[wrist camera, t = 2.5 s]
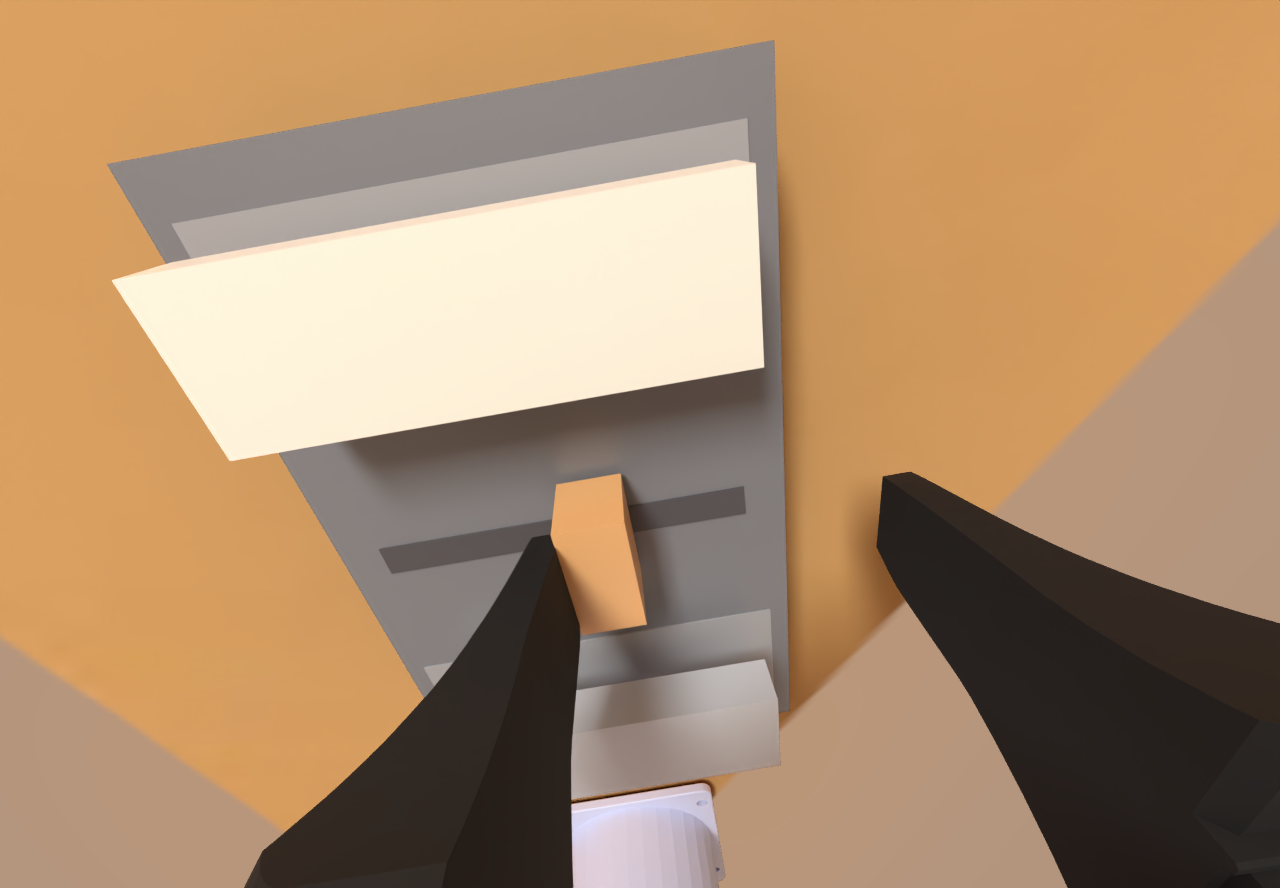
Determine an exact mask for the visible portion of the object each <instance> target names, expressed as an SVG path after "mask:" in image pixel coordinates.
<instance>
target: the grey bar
mask: <svg viewBox="0 0 1280 888" xmlns="http://www.w3.org/2000/svg"><path fill="white" fill-rule="evenodd" d="M779 765H781V762H780V737H779V713H778V699H777V695H776V692H775V689H774V686H773V683H772V680H771V677H770V674H769V671H768V668H767V664H766V661H765V659H762V660H756V661H750V662H744V663H738V664H732V665H726V666H720V667H714V668H708V669H702V670H696V671H690V672H684V673H678V674H672V675H666V676H660V677H654V678H648V679H642V680H636V681H630V682H624V683H618V684H612V685H606V686H600V687H594V688H588V689H582V690H576V701H575V713H574V725H573V736H572V755H571V799H577V798H583V797H589V796H596V795H602V794H608V793H614V792H620V791H626V790H632V789H638V788H645V787H651V786H657V785H663V784H669V783H675V782H681V781H687V780H694V779H700V778H706V777H712V776H718V775H724V774H730V773H737V772H743V771H749V770H755V769H761V768H767V767H773V766H779Z"/></svg>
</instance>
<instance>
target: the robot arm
mask: <svg viewBox="0 0 1280 888" xmlns="http://www.w3.org/2000/svg"><path fill="white" fill-rule="evenodd" d="M877 549H878V551H879V553H880V555H881V557H882V559H883V561H884V563H885V565H886V567H887V569H888V571H889V573H890V575H891V577H892V579H893V581H894V583H895V584H896V586H897V588H898V589H899V591H900V593H901V594H902V596H903V597H904V599H905V600H906V602H907V603H908V604H909V606H910V607H911V609H912V610H913V612H914V613H915V615H916V616H917V618H918V619H919V621H920V622H921V624H922V625H923V627H924V628H925V629H926V631H927V632H928V634H929V635H930V637H931V638H932V640H933V641H934V642H935V644H936V645H937V647H938V648H939V650H940V651H941V653H942V654H943V656H944V657H945V658H946V660H947V661H948V663H949V664H950V666H951V667H952V669H953V670H954V672H955V673H956V674H957V676H958V678H959V679H960V681H961V682H962V684H963V685H964V687H965V689H966V690H967V692H968V693H969V695H970V696H971V698H972V700H973V702H974V704H975V705H976V707H977V709H978V711H979V713H980V715H981V716H982V718H983V720H984V722H985V724H986V725H987V727H988V729H989V731H990V733H991V735H992V736H993V738H994V740H995V742H996V744H997V745H998V748H999V749H1000V751H1001V753H1002V755H1003V757H1004V759H1005V761H1006V763H1007V765H1008V767H1009V769H1010V770H1011V772H1012V774H1013V776H1014V778H1015V780H1016V782H1017V784H1018V786H1019V788H1020V790H1021V792H1022V793H1023V795H1024V798H1025V799H1026V801H1027V804H1028V806H1029V808H1030V810H1031V812H1032V814H1033V816H1034V818H1035V820H1036V822H1037V824H1038V826H1039V828H1040V830H1041V832H1042V834H1043V836H1044V838H1045V840H1046V842H1047V844H1048V846H1049V849H1050V851H1051V853H1052V855H1053V857H1054V859H1055V861H1056V863H1057V865H1058V868H1059V870H1060V872H1061V874H1062V876H1063V878H1064V881H1065V883H1066V885H1067V887H1068V888H1280V623H1276V622H1273V621H1269V620H1266V619H1262V618H1258V617H1255V616H1251V615H1247V614H1244V613H1241V612H1237V611H1234V610H1231V609H1228V608H1224V607H1221V606H1218V605H1214V604H1211V603H1208V602H1204V601H1201V600H1199V599H1196V598H1193V597H1190V596H1187V595H1184V594H1180V593H1177V592H1175V591H1172V590H1169V589H1166V588H1162V587H1159V586H1157V585H1154V584H1151V583H1148V582H1145V581H1143V580H1140V579H1137V578H1134V577H1132V576H1129V575H1126V574H1124V573H1121V572H1118V571H1116V570H1114V569H1111V568H1109V567H1106V566H1104V565H1101V564H1099V563H1096V562H1094V561H1091V560H1088V559H1086V558H1084V557H1081V556H1079V555H1076V554H1074V553H1072V552H1069V551H1067V550H1065V549H1063V548H1061V547H1058V546H1056V545H1054V544H1052V543H1050V542H1048V541H1045V540H1043V539H1041V538H1039V537H1037V536H1035V535H1033V534H1030V533H1028V532H1026V531H1024V530H1022V529H1020V528H1018V527H1016V526H1014V525H1012V524H1010V523H1008V522H1006V521H1004V520H1002V519H1000V518H998V517H996V516H994V515H992V514H990V513H989V512H987V511H985V510H983V509H981V508H979V507H977V506H975V505H973V504H971V503H970V502H968V501H966V500H964V499H962V498H960V497H958V496H957V495H955V494H953V493H951V492H949V491H947V490H945V489H943V488H942V487H940V486H938V485H936V484H934V483H932V482H930V481H928V480H926V479H925V478H923V477H921V476H919V475H916V474H914V473H912V472H906V473H900V474H894V475H888V476H883V480H882V491H881V503H880V514H879V525H878V537H877ZM579 654H580V624H579V621H578V618H577V615H576V612H575V609H574V606H573V602H572V599H571V596H570V593H569V590H568V587H567V584H566V581H565V577H564V574H563V571H562V568H561V565H560V562H559V559H558V556H557V552H556V549H555V547H554V545H553V542H552V538H551V534H549V535H543V536H537V537H532V538H531V540H530V541H529V542H528V544H527V546H526V548H525V550H524V551H523V553H522V555H521V557H520V559H519V561H518V562H517V564H516V566H515V568H514V569H513V571H512V573H511V575H510V576H509V578H508V580H507V582H506V583H505V585H504V587H503V588H502V590H501V592H500V593H499V595H498V597H497V598H496V600H495V602H494V603H493V605H492V606H491V608H490V610H489V611H488V613H487V614H486V616H485V618H484V619H483V621H482V622H481V624H480V625H479V626H478V628H477V629H476V631H475V632H474V634H473V635H472V637H471V638H470V640H469V641H468V643H467V644H466V645H465V647H464V648H463V650H462V651H461V652H460V654H459V655H458V657H457V658H456V659H455V661H454V662H453V663H452V665H451V666H450V667H449V668H448V670H447V671H446V672H445V674H444V675H443V676H442V677H441V679H440V680H439V681H438V682H437V684H436V685H435V686H434V687H433V688H432V690H431V691H430V692H429V693H428V694H427V696H426V697H425V698H424V699H423V700H422V701H421V702H420V704H419V705H418V706H417V707H416V708H415V709H414V710H413V711H412V712H411V714H410V715H409V716H408V717H407V718H406V719H405V720H404V721H403V722H402V723H401V724H400V726H399V727H398V728H397V729H396V730H395V731H394V732H393V733H392V734H391V735H390V736H389V737H388V738H387V739H386V741H385V742H384V743H383V744H382V745H381V746H380V747H379V748H378V749H377V750H376V751H375V752H373V753H372V754H371V755H370V756H369V757H368V758H367V759H366V760H365V761H364V762H363V763H362V764H361V765H360V766H359V767H358V768H357V769H356V770H355V771H354V772H353V773H352V774H351V775H350V776H349V777H347V778H346V779H345V780H344V781H343V782H342V783H341V784H340V785H339V786H338V787H337V788H336V789H335V790H333V791H332V792H331V793H330V794H329V795H328V796H327V797H326V798H325V799H323V800H322V801H321V802H320V803H319V804H318V805H316V806H315V807H314V808H313V809H312V810H311V811H309V812H308V813H307V814H306V815H305V816H304V817H302V818H301V819H300V820H299V821H298V822H297V823H295V824H294V825H293V826H292V827H291V828H290V829H288V830H287V831H286V832H285V833H284V834H283V835H281V836H280V837H279V838H278V839H277V840H275V841H274V842H273V843H272V844H271V845H269V846H268V847H267V848H266V849H264V850H263V851H262V853H261V855H260V857H259V859H258V861H257V863H256V865H255V867H254V869H253V871H252V873H251V875H250V877H249V879H248V881H247V883H246V885H245V887H244V888H719V886H718V881H721V880H723V879H724V878H725V870H724V865H723V859H722V853H721V847H720V842H719V836H718V830H717V824H716V818H715V812H714V806H713V800H712V794H711V789H710V786H709V785H707V784H705V783H697V784H691V785H684V786H678V787H672V788H666V789H660V790H654V791H648V792H642V793H635V794H629V795H623V796H617V797H611V798H605V799H599V800H592V801H586V802H580V803H574V804H571V755H572V736H573V725H574V713H575V701H576V690H577V678H578V666H579Z"/></svg>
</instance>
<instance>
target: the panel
mask: <svg viewBox="0 0 1280 888" xmlns="http://www.w3.org/2000/svg"><path fill="white" fill-rule="evenodd" d="M730 160H741V161H746V162H752V163H756V182H757V206H758V230H759V254H760V279H761V303H762V327H763V351H764V367H763V368H758V369H752V370H746V371H740V372H735V373H729V374H723V375H718V376H712V377H706V378H701V379H695V380H689V381H683V382H678V383H672V384H666V385H661V386H655V387H649V388H644V389H638V390H632V391H627V392H621V393H615V394H609V395H604V396H598V397H592V398H587V399H581V400H575V401H570V402H564V403H558V404H553V405H547V406H541V407H535V408H530V409H524V410H518V411H513V412H507V413H501V414H496V415H490V416H484V417H478V418H473V419H467V420H461V421H456V422H450V423H444V424H439V425H433V426H427V427H422V428H416V429H410V430H404V431H399V432H393V433H387V434H382V435H376V436H370V437H365V438H359V439H353V440H348V441H342V442H336V443H330V444H325V445H319V446H313V447H308V448H302V449H296V450H291V451H285V452H279V455H280V456H281V458H282V460H283V461H284V463H285V465H286V466H287V468H288V470H289V472H290V473H291V475H292V477H293V478H294V480H295V482H296V483H297V485H298V487H299V488H300V490H301V492H302V493H303V495H304V497H305V498H306V500H307V502H308V503H309V505H310V507H311V509H312V510H313V512H314V514H315V515H316V517H317V519H318V520H319V522H320V524H321V525H322V527H323V529H324V530H325V532H326V534H327V535H328V537H329V539H330V541H331V542H332V544H333V546H334V547H335V549H336V551H337V552H338V554H339V556H340V557H341V559H342V561H343V562H344V564H345V566H346V567H347V569H348V571H349V572H350V574H351V576H352V578H353V579H354V581H355V583H356V584H357V586H358V588H359V589H360V591H361V593H362V594H363V596H364V598H365V599H366V601H367V603H368V604H369V606H370V608H371V609H372V611H373V613H374V615H375V616H376V618H377V620H378V621H379V623H380V625H381V626H382V628H383V630H384V631H385V633H386V635H387V636H388V638H389V640H390V641H391V643H392V645H393V647H394V648H395V650H396V652H397V653H398V655H399V657H400V658H401V660H402V662H403V663H404V665H405V667H406V668H407V670H408V672H409V673H410V675H411V677H412V678H413V680H414V682H415V684H416V685H417V687H418V689H419V690H420V692H421V694H422V695H423V697H424V698H425V697H426V696H427V694H428V693H429V692H430V691H431V690H432V688H433V687H434V686H435V685H436V684H437V682H438V681H439V680H440V679H441V677H442V676H443V675H444V674H445V672H446V671H447V670H448V668H449V667H450V666H451V665H452V663H453V662H454V661H455V659H456V658H457V657H458V655H459V654H460V652H461V651H462V650H463V648H464V647H465V645H466V644H467V643H468V641H469V640H470V638H471V637H472V635H473V634H474V632H475V631H476V629H477V628H478V626H479V625H480V624H481V622H482V621H483V619H484V618H485V616H486V614H487V613H488V611H489V610H490V608H491V606H492V605H493V603H494V602H495V600H496V598H497V597H498V595H499V593H500V592H501V590H502V588H503V587H504V585H505V583H506V582H507V580H508V578H509V576H510V575H511V573H512V571H513V569H514V568H515V566H516V564H517V562H518V561H519V559H520V557H521V555H522V553H523V551H524V550H525V548H526V546H527V544H528V542H529V541H530V540H531V538H532V537H537V536H543V535H549V534H551V527H552V518H553V509H554V500H555V491H556V484H562V483H568V482H573V481H579V480H585V479H591V478H596V477H602V476H608V475H614V474H620V473H621V477H622V482H623V487H624V492H625V496H626V501H627V506H628V510H629V515H630V520H631V524H632V529H633V534H634V539H635V543H636V548H637V553H638V557H639V562H640V567H641V574H642V583H643V593H644V602H645V612H646V621H647V625H641V626H635V627H629V628H623V629H617V630H611V631H605V632H599V633H593V634H587V635H582V633H581V630H580V654H579V666H578V678H577V690H582V689H588V688H594V687H600V686H606V685H612V684H618V683H624V682H630V681H636V680H642V679H648V678H654V677H660V676H666V675H672V674H678V673H684V672H690V671H696V670H702V669H708V668H714V667H720V666H726V665H732V664H738V663H744V662H750V661H756V660H762V659H765V661H766V664H767V668H768V671H769V674H770V677H771V680H772V683H773V686H774V689H775V692H776V695H777V699H778V713H780V712H787V711H790V697H789V654H788V611H787V568H786V525H785V482H784V439H783V396H782V352H781V309H780V266H779V223H778V180H777V137H776V94H775V51H774V40H772V41H767V42H761V43H756V44H751V45H745V46H740V47H734V48H729V49H724V50H718V51H713V52H708V53H702V54H697V55H691V56H686V57H681V58H675V59H670V60H664V61H659V62H654V63H648V64H643V65H638V66H632V67H627V68H621V69H616V70H611V71H605V72H600V73H595V74H589V75H584V76H578V77H573V78H568V79H562V80H557V81H551V82H546V83H541V84H535V85H530V86H525V87H519V88H514V89H508V90H503V91H498V92H492V93H487V94H482V95H476V96H471V97H465V98H460V99H455V100H449V101H444V102H438V103H433V104H428V105H422V106H417V107H412V108H406V109H401V110H395V111H390V112H385V113H379V114H374V115H368V116H363V117H358V118H352V119H347V120H342V121H336V122H331V123H325V124H320V125H315V126H309V127H304V128H299V129H293V130H288V131H282V132H277V133H272V134H266V135H261V136H255V137H250V138H245V139H239V140H234V141H229V142H223V143H218V144H212V145H207V146H202V147H196V148H191V149H185V150H180V151H175V152H169V153H164V154H159V155H153V156H148V157H142V158H137V159H132V160H126V161H121V162H116V163H110V164H107V165H108V167H109V169H110V170H111V172H112V174H113V175H114V177H115V179H116V180H117V182H118V184H119V185H120V187H121V189H122V191H123V192H124V194H125V196H126V197H127V199H128V201H129V202H130V204H131V206H132V207H133V209H134V211H135V212H136V214H137V216H138V217H139V219H140V221H141V223H142V224H143V226H144V228H145V229H146V231H147V233H148V234H149V236H150V238H151V239H152V241H153V243H154V244H155V246H156V248H157V249H158V251H159V253H160V254H161V256H162V258H163V260H164V261H165V263H166V264H168V263H171V262H176V261H182V260H187V259H193V258H198V257H204V256H209V255H215V254H220V253H226V252H231V251H237V250H242V249H248V248H253V247H259V246H264V245H270V244H275V243H281V242H286V241H292V240H297V239H302V238H308V237H313V236H319V235H324V234H330V233H335V232H341V231H346V230H352V229H357V228H363V227H368V226H374V225H379V224H385V223H390V222H396V221H401V220H407V219H412V218H418V217H423V216H429V215H434V214H440V213H445V212H451V211H456V210H462V209H467V208H473V207H478V206H484V205H489V204H494V203H500V202H505V201H511V200H516V199H522V198H527V197H533V196H538V195H544V194H549V193H555V192H560V191H566V190H571V189H577V188H582V187H588V186H593V185H599V184H604V183H610V182H615V181H621V180H626V179H632V178H637V177H643V176H648V175H654V174H659V173H665V172H670V171H676V170H681V169H687V168H692V167H697V166H703V165H708V164H714V163H719V162H725V161H730Z"/></svg>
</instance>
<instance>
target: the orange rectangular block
mask: <svg viewBox="0 0 1280 888" xmlns="http://www.w3.org/2000/svg"><path fill="white" fill-rule="evenodd" d="M551 538H552V542H553V545H554V547H555V549H556V552H557V556H558V559H559V562H560V565H561V568H562V571H563V574H564V577H565V581H566V584H567V587H568V590H569V593H570V596H571V599H572V602H573V606H574V609H575V612H576V615H577V618H578V621H579V624H580V630H581V633H582V635H587V634H593V633H599V632H605V631H611V630H617V629H623V628H629V627H635V626H641V625H647V621H646V612H645V602H644V593H643V583H642V574H641V567H640V562H639V557H638V553H637V548H636V543H635V539H634V534H633V529H632V524H631V520H630V515H629V510H628V506H627V501H626V496H625V492H624V487H623V482H622V477H621V473H620V474H614V475H608V476H602V477H596V478H591V479H585V480H579V481H573V482H568V483H562V484H556V491H555V500H554V509H553V518H552V527H551Z"/></svg>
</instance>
